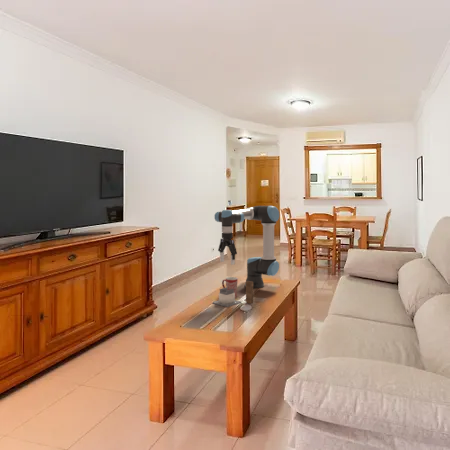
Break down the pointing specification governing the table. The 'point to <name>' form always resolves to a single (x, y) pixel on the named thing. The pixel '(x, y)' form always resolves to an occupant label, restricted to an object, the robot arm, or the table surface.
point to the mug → (231, 284)
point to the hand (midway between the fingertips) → (227, 263)
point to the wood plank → (249, 292)
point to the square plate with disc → (226, 298)
